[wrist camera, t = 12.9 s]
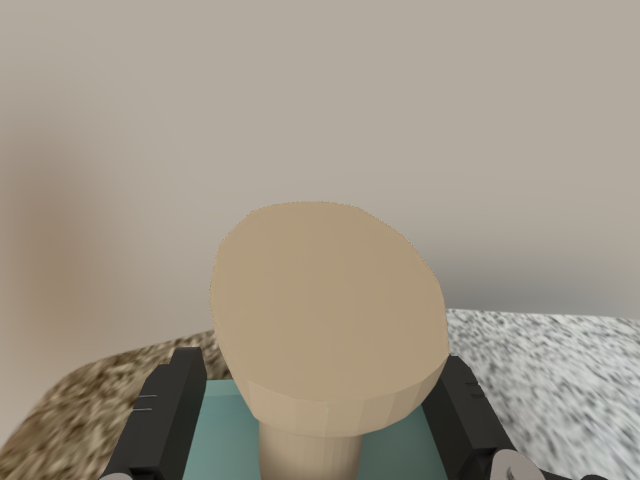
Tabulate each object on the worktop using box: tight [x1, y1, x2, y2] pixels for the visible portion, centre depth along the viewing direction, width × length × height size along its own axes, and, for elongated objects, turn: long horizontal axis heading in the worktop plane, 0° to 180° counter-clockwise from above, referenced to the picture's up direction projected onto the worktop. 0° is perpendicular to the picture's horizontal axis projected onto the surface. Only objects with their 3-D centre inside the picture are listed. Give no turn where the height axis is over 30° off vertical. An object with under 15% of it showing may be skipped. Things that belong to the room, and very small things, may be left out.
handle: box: [210, 202, 449, 480], centre depth 11 cm, size 5×6×15 cm
